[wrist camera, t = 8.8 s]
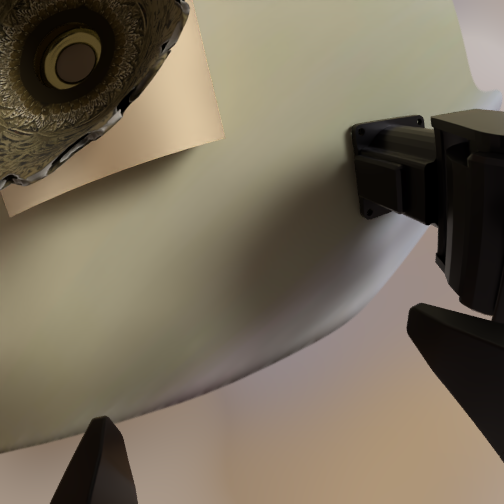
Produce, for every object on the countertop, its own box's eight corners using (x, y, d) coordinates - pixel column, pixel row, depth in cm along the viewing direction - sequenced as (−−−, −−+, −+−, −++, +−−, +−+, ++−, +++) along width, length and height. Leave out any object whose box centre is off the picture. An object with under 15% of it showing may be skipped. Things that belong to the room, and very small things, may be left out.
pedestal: (169, -28, 12) (177, -62, 8) (207, 134, 16) (225, 138, 13) (-3, 35, 10) (-34, 19, 6) (35, 196, 14) (10, 217, 11)
